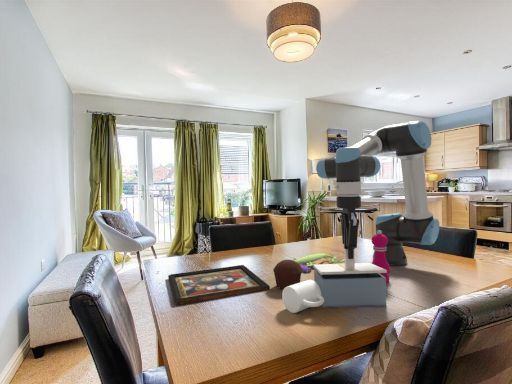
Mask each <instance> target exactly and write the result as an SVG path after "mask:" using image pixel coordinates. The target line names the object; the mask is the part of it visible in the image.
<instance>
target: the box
mask: <svg viewBox="0 0 512 384" xmlns="http://www.w3.org/2000/svg"><path fill="white" fill-rule="evenodd" d="M313 281H315V282H316V283H317V284H318V286H319V287H320V290H321V294H322V297H323V298H324V303H323V304H322V305H321V308H323V309H329V308H330V309H335V308H339V309H340V308H372V307H373V308H374V307H375V308H376V307H387V282H386V278H385V277H384V276H382V275H381V274H380V273H360V274H326V275H321V274H320V273H319V272H318V271H317V270H316V269H315V268H314V267H313Z"/></svg>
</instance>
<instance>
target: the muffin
mask: <svg viewBox="0 0 512 384" xmlns="http://www.w3.org/2000/svg"><path fill="white" fill-rule="evenodd" d="M302 271H303V270H302V267H301V266H300V265H299V264H298V263H297V262H295V261H294V260H293V259H283V260H281V261H279V262H278V263H276V265H275V266H274V268H273V271H272V272H273V274H274V279H275V284H276V288H277V289H279V290H281V291H283V290H284V288H285V287H287V286H290V285H294V284H297V283H300V282H301V279H302V278H301V277H302V273H303V272H302Z"/></svg>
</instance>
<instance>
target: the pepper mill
mask: <svg viewBox="0 0 512 384" xmlns="http://www.w3.org/2000/svg"><path fill="white" fill-rule="evenodd" d="M387 243H388V239H387V237H386V236H385V235H383V234H382V231H381V230H378V231H377V234H376V233H375V234H374V235H372V237H371V244H372V248H373V249H372V250H373V253H374V252H375V255H374V259H373V258H372V262H371V264H374V265H376V266H378V267H381V268H383V269H385V270H387V273H380V274H381V275H382V276H384V277H385V278H386V283H389V282H390V276H389V274H390V273H391V267H390V266H391V265H389V264H388V262H387V260H386V257H385V251H386V250H387V249H386V248H387V247H386V245H387Z"/></svg>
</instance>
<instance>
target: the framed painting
mask: <svg viewBox="0 0 512 384" xmlns="http://www.w3.org/2000/svg"><path fill="white" fill-rule="evenodd" d="M167 279H168V284H169V288H170V291H171V295H172V297H173V303H174V306H175V307H178V306H184V305H189V304H196V303H202V302H207V301H213V300H218V299H223V298H229V297H235V296H239V295H247V294H251V293H256V292H262V291H263V292H264V291H268V290H270V288H271V285H269V284H268V283H267V282H266V281H264V280H263V279H262V278H261V277H259V276H258V275H257V274H255V273H254V272H253V271H252V270H251V269H249V268H248V267H247V266H246V265H244V264H239V265H233V266H224V267H217V268H210V269H203V270H202V269H201V270H195V271H194V270H193V271H186V272H180V273H179V272H178V273H172V274H168V276H167Z"/></svg>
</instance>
